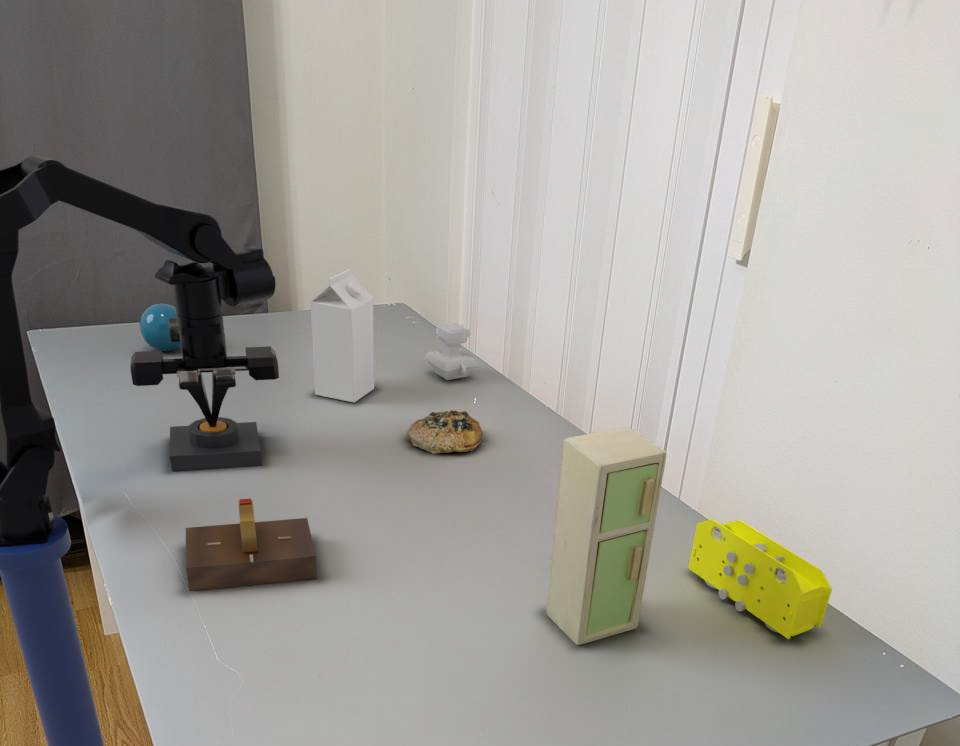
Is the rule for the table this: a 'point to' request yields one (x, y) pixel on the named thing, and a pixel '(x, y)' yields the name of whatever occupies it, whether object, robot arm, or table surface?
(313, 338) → the milk carton
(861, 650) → the table surface
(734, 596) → the yellow toy chassis
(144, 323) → the ball
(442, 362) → the stamp
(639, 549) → the toy refrigerator
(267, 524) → the plate
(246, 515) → the thumbturn
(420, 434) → the bread roll
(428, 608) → the table surface
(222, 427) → the bell button
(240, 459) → the block
